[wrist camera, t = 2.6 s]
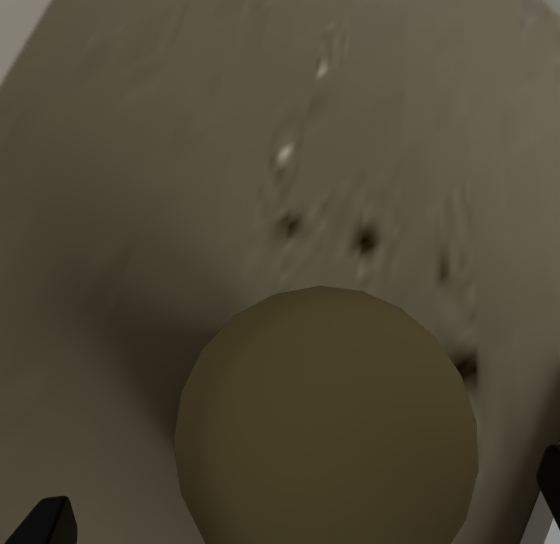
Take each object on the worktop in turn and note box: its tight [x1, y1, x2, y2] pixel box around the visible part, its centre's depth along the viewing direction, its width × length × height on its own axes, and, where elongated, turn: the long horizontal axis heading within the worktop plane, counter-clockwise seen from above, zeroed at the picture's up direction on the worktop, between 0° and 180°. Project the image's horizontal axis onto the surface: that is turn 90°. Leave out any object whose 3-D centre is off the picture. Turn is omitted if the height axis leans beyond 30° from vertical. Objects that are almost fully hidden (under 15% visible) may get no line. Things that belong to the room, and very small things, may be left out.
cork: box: [173, 286, 478, 544], centre depth 12 cm, size 6×6×11 cm
